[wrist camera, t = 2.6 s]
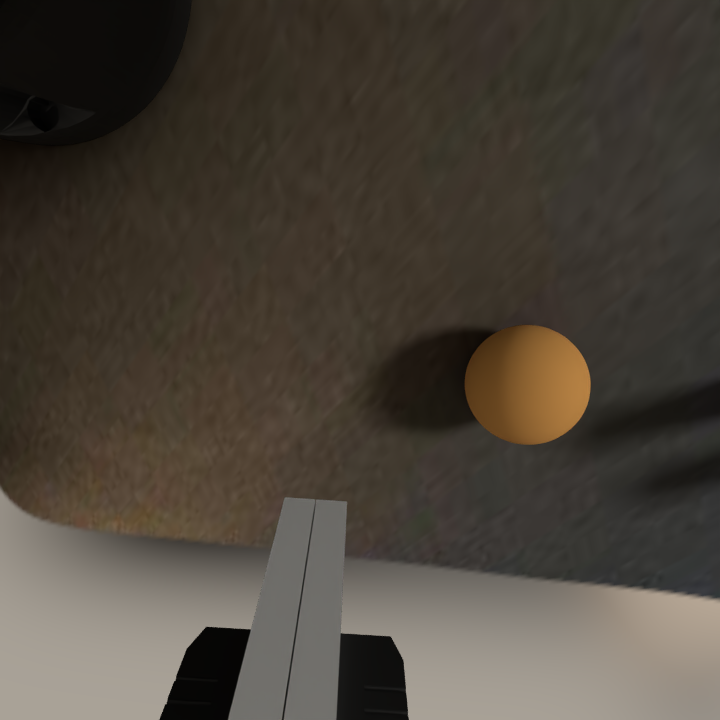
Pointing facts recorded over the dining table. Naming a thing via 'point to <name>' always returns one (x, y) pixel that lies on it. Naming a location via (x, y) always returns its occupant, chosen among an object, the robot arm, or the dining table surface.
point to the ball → (527, 384)
